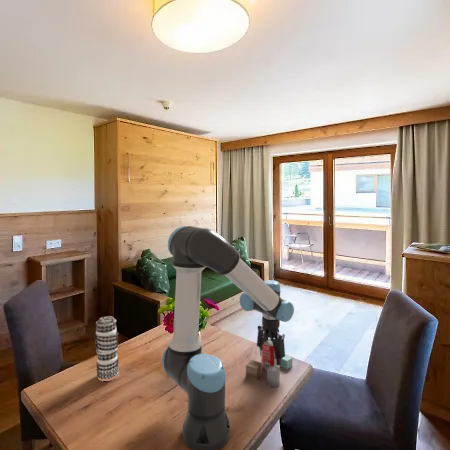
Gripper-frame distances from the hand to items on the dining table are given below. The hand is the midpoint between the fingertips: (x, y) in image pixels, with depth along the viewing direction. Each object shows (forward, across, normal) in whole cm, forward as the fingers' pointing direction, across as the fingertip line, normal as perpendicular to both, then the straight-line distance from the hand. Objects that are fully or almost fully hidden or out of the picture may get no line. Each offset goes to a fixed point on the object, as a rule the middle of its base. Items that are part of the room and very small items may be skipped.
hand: (270, 367), depth 132 cm
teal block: (+1, -2, -7) cm, 7 cm away
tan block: (+1, +1, +9) cm, 9 cm away
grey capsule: (+1, -8, +7) cm, 11 cm away
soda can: (+1, 0, 0) cm, 1 cm away
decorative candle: (+1, +39, +57) cm, 69 cm away
